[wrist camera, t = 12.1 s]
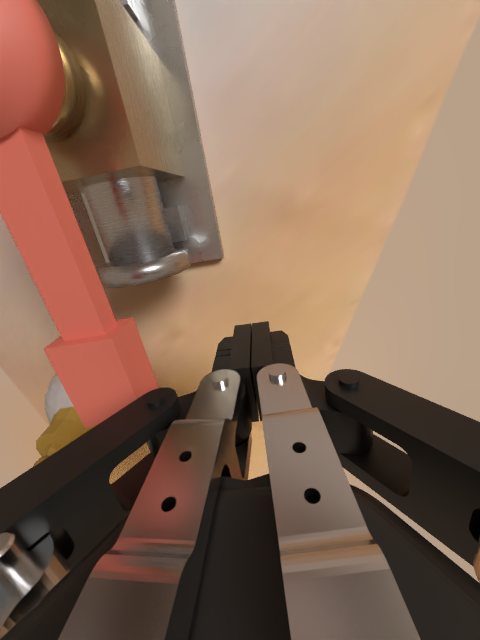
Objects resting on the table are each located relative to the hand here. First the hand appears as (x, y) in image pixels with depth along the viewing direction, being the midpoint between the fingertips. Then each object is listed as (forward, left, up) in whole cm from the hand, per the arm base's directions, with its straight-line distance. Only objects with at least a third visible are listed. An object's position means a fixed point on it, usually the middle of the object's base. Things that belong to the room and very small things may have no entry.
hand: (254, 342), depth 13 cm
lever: (-6, +6, 0) cm, 9 cm away
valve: (-7, +11, -11) cm, 17 cm away
